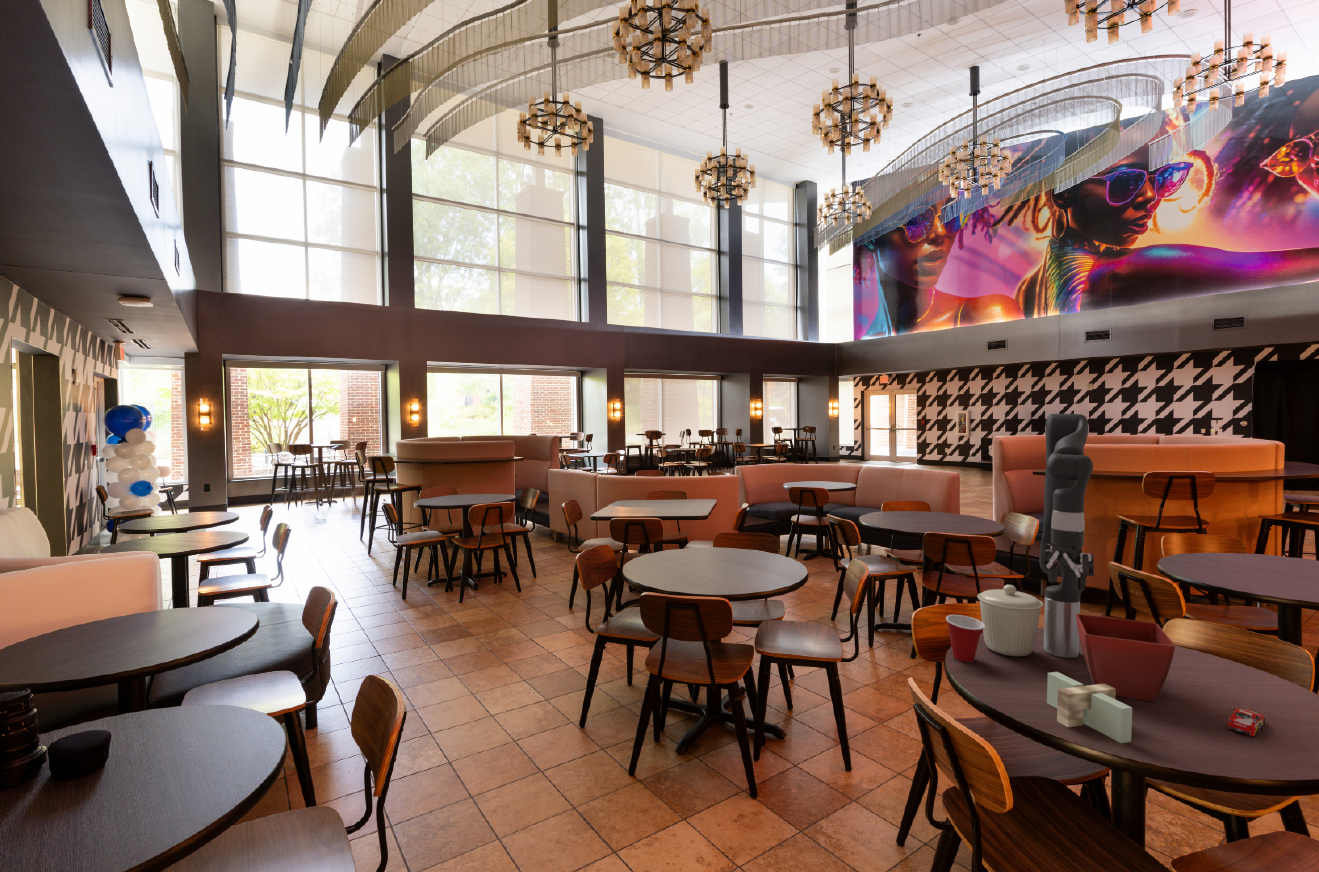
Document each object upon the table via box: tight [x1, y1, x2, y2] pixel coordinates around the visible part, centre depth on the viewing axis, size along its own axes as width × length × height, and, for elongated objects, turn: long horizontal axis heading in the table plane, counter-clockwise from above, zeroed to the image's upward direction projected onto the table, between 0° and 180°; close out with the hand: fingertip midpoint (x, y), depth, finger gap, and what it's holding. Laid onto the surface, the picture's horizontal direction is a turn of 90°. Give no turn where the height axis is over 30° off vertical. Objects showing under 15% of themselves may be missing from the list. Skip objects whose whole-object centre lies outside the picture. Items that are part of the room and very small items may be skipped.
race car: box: [1226, 708, 1266, 737], centre depth 148 cm, size 13×5×4 cm, turn 125°
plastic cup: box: [945, 614, 985, 663], centre depth 189 cm, size 11×11×12 cm
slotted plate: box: [1056, 684, 1116, 728], centre depth 150 cm, size 14×3×8 cm, turn 103°
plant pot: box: [1076, 613, 1176, 703], centre depth 168 cm, size 19×19×17 cm
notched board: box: [1046, 671, 1133, 744], centre depth 150 cm, size 20×3×8 cm, turn 13°
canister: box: [977, 584, 1044, 657], centre depth 195 cm, size 18×18×21 cm
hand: (1066, 586), depth 168 cm, fingers open, 8 cm apart
